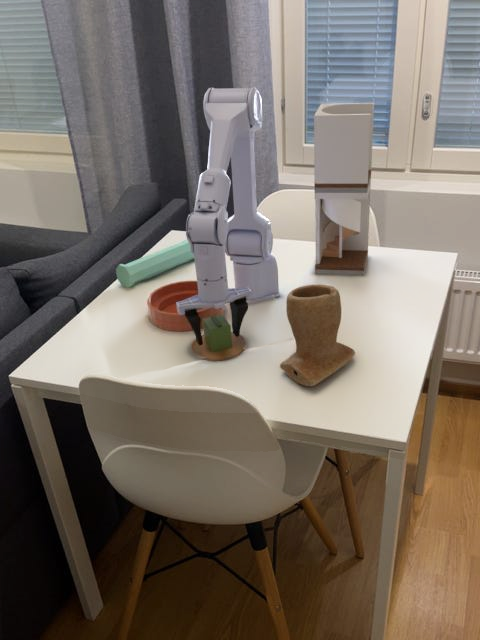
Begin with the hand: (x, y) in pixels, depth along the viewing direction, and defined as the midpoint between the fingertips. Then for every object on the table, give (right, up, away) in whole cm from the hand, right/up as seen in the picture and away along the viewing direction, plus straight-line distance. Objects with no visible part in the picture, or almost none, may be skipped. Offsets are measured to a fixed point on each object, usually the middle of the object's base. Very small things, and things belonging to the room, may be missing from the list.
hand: (218, 338), depth 138 cm
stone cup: (+18, -6, -7) cm, 21 cm away
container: (-14, +21, +34) cm, 42 cm away
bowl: (-7, +7, +13) cm, 16 cm away
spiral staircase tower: (+29, +21, +29) cm, 46 cm away
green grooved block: (0, -1, +1) cm, 1 cm away
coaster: (0, -2, +1) cm, 2 cm away
